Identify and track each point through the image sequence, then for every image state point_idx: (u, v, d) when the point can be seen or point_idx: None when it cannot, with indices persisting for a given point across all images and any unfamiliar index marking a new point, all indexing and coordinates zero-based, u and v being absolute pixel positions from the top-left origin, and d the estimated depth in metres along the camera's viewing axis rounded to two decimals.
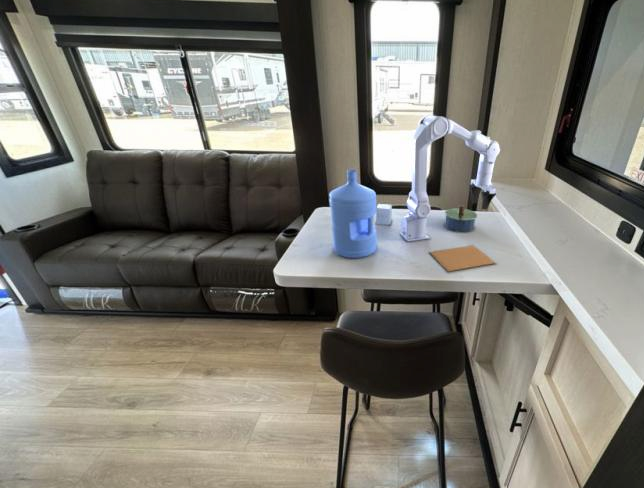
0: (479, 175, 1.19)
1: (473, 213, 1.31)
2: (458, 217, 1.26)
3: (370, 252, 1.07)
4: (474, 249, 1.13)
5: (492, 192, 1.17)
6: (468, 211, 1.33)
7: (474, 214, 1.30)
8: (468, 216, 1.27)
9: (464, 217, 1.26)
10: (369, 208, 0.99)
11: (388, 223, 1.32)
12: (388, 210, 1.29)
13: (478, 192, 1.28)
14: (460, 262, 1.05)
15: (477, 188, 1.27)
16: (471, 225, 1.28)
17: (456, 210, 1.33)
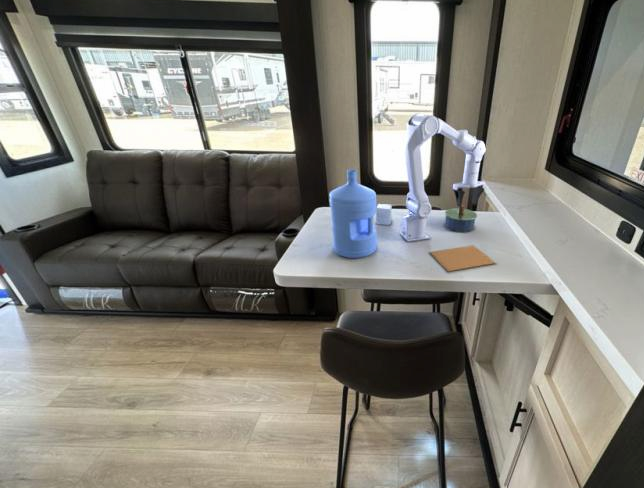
0: None
1: (473, 213, 1.31)
2: (458, 217, 1.26)
3: (370, 252, 1.07)
4: (474, 249, 1.13)
5: (453, 187, 1.21)
6: (468, 211, 1.33)
7: (474, 214, 1.30)
8: (468, 216, 1.27)
9: (464, 217, 1.26)
10: (369, 207, 0.99)
11: (388, 223, 1.32)
12: (388, 210, 1.29)
13: (476, 194, 1.26)
14: (460, 262, 1.05)
15: (476, 189, 1.26)
16: (471, 225, 1.28)
17: (456, 210, 1.33)
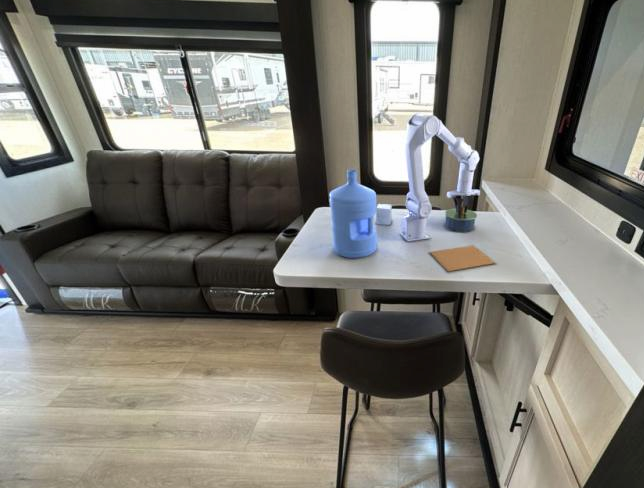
0: None
1: (473, 213, 1.31)
2: (458, 217, 1.26)
3: (370, 252, 1.07)
4: (474, 249, 1.13)
5: (447, 195, 1.24)
6: (468, 211, 1.33)
7: (474, 214, 1.30)
8: (468, 216, 1.27)
9: (464, 217, 1.26)
10: (369, 207, 0.99)
11: (388, 223, 1.32)
12: (388, 210, 1.29)
13: (466, 202, 1.27)
14: (460, 262, 1.05)
15: (466, 198, 1.27)
16: (471, 225, 1.28)
17: None
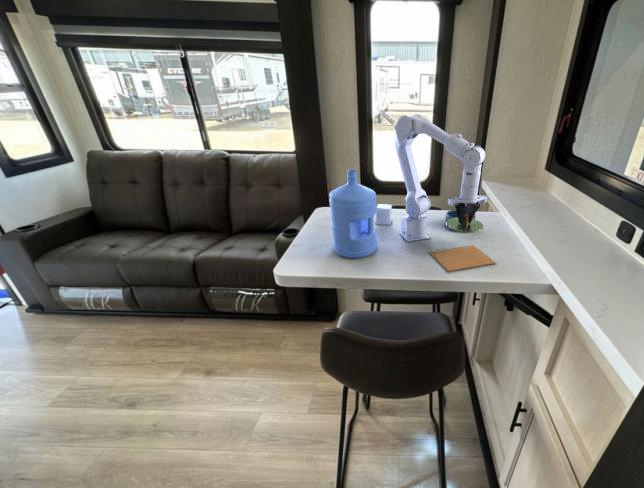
0: None
1: (479, 223, 1.10)
2: (461, 229, 1.06)
3: (370, 252, 1.07)
4: (474, 249, 1.13)
5: (448, 203, 1.04)
6: (473, 221, 1.12)
7: (480, 225, 1.09)
8: (473, 227, 1.07)
9: (469, 229, 1.06)
10: (369, 207, 0.99)
11: (388, 223, 1.32)
12: (388, 210, 1.29)
13: (471, 211, 1.07)
14: (460, 262, 1.05)
15: (471, 205, 1.07)
16: None
17: None
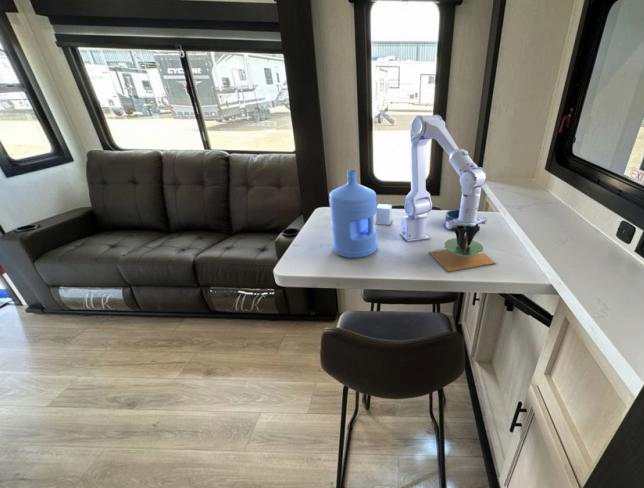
0: None
1: (478, 245, 1.06)
2: (460, 252, 1.01)
3: (370, 252, 1.07)
4: None
5: (446, 225, 0.99)
6: (472, 242, 1.08)
7: (480, 247, 1.05)
8: (472, 250, 1.03)
9: (468, 252, 1.01)
10: (369, 207, 0.99)
11: (388, 223, 1.32)
12: (388, 210, 1.29)
13: (470, 233, 1.03)
14: (460, 262, 1.05)
15: (470, 227, 1.02)
16: None
17: None
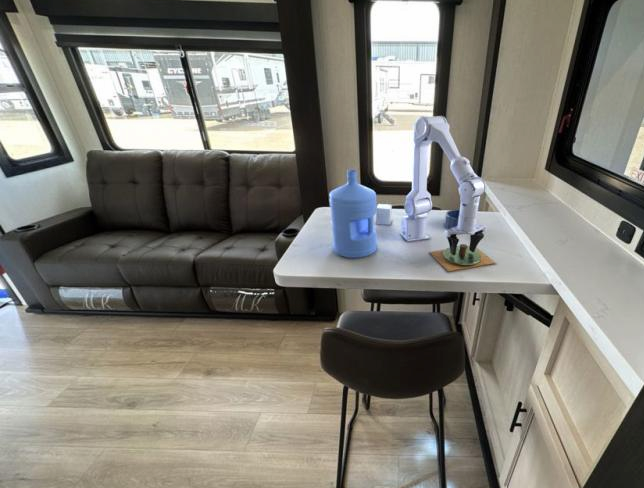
0: None
1: (477, 254, 1.08)
2: (459, 261, 1.03)
3: (370, 252, 1.07)
4: None
5: (445, 234, 1.01)
6: None
7: (478, 255, 1.07)
8: (471, 259, 1.04)
9: (466, 261, 1.03)
10: (369, 207, 0.99)
11: (388, 223, 1.32)
12: (388, 210, 1.29)
13: (475, 240, 1.05)
14: None
15: (474, 235, 1.05)
16: None
17: (456, 249, 1.10)
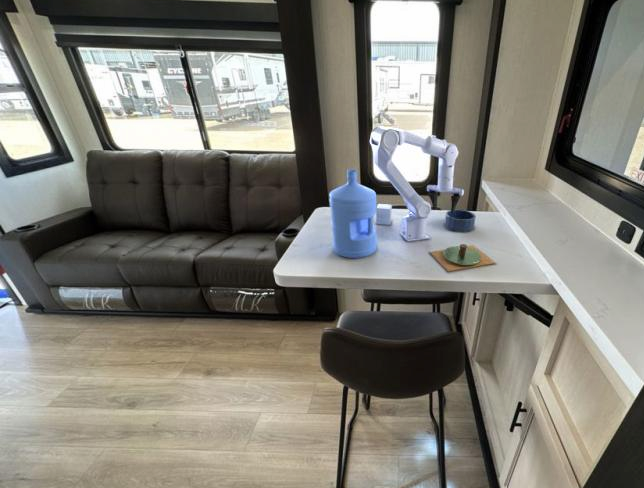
0: (444, 180, 1.14)
1: (477, 254, 1.08)
2: (459, 261, 1.03)
3: (370, 252, 1.07)
4: (474, 249, 1.13)
5: (462, 194, 1.15)
6: (471, 251, 1.10)
7: (478, 255, 1.07)
8: (471, 259, 1.04)
9: (466, 261, 1.03)
10: (369, 207, 0.99)
11: (388, 223, 1.32)
12: (388, 210, 1.29)
13: (436, 197, 1.23)
14: None
15: (436, 193, 1.21)
16: (471, 225, 1.28)
17: (456, 249, 1.10)
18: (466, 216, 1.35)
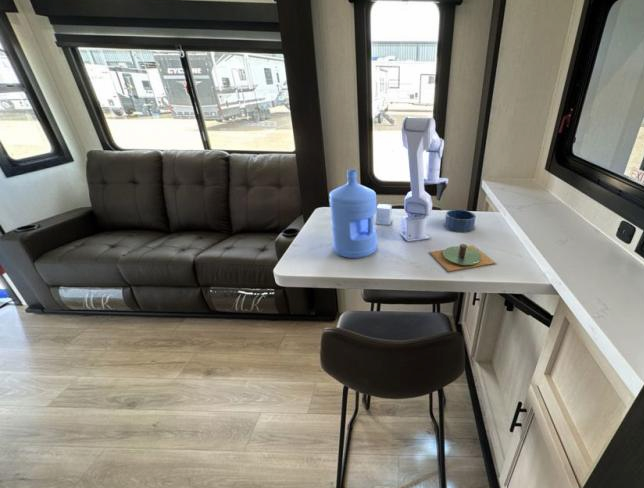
0: (437, 172, 1.25)
1: (477, 254, 1.08)
2: (459, 261, 1.03)
3: (370, 252, 1.07)
4: (474, 249, 1.13)
5: None
6: (471, 251, 1.10)
7: (478, 255, 1.07)
8: (471, 259, 1.04)
9: (466, 261, 1.03)
10: (369, 207, 0.99)
11: (388, 223, 1.32)
12: (388, 210, 1.29)
13: None
14: None
15: None
16: (471, 225, 1.28)
17: (456, 249, 1.10)
18: (466, 216, 1.35)
